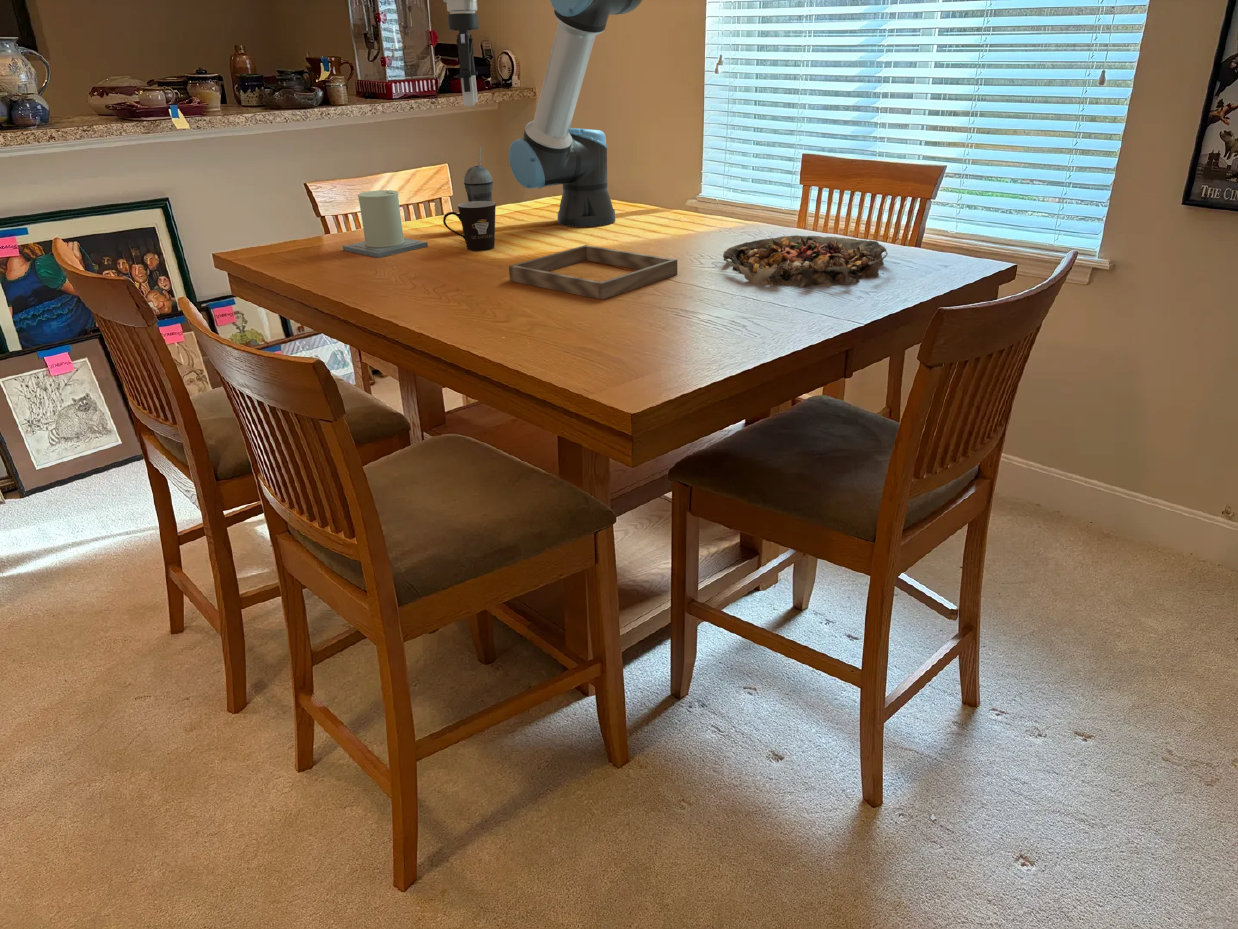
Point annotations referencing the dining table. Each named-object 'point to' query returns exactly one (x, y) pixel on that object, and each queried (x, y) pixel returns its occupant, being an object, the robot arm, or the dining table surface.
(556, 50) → the robot arm
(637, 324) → the dining table surface
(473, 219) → the coffee mug
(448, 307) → the dining table surface
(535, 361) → the dining table surface
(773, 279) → the food dish
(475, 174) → the beverage cup
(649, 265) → the walnut frame
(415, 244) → the slate coaster
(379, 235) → the can
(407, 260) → the dining table surface
